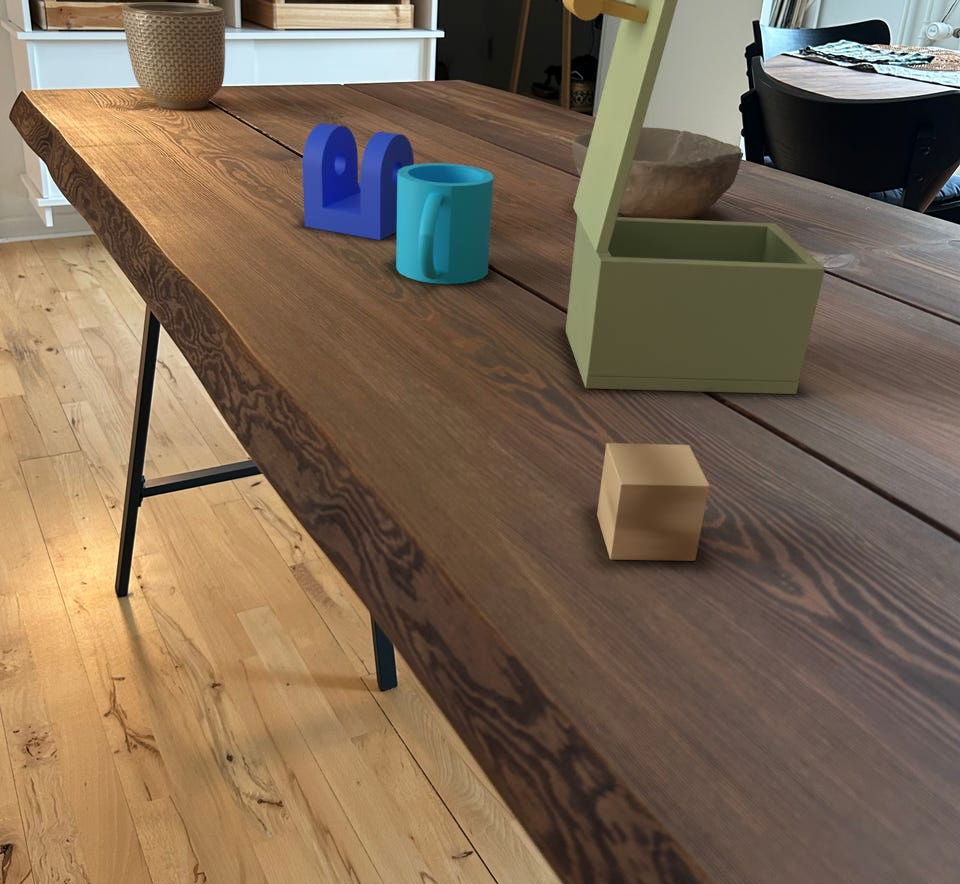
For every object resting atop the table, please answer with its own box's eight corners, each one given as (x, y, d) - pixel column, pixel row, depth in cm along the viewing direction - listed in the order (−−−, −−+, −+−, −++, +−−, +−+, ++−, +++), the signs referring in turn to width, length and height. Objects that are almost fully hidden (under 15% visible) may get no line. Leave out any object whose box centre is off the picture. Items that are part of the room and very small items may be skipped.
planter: (200, 94, 159) (193, 1, 152) (249, 109, 150) (243, 11, 144) (115, 101, 151) (103, 2, 144) (161, 117, 142) (151, 13, 135)
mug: (407, 251, 95) (409, 159, 91) (495, 260, 94) (500, 168, 90) (374, 292, 85) (374, 191, 80) (472, 302, 84) (477, 201, 80)
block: (676, 516, 56) (689, 444, 54) (695, 561, 52) (710, 485, 50) (596, 515, 56) (606, 442, 53) (609, 560, 52) (620, 483, 50)
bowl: (599, 187, 121) (607, 115, 117) (747, 212, 115) (761, 136, 110) (539, 220, 107) (546, 139, 103) (704, 250, 101) (718, 165, 96)
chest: (752, 337, 80) (775, 223, 76) (796, 394, 71) (825, 268, 67) (565, 331, 79) (577, 215, 75) (585, 388, 70) (600, 259, 65)
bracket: (380, 240, 98) (380, 140, 93) (304, 226, 100) (301, 129, 95) (458, 200, 112) (461, 112, 107) (390, 189, 114) (391, 103, 110)
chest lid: (646, -30, 67) (566, -50, 66) (683, -19, 57) (590, -42, 57) (583, 210, 75) (511, 195, 74) (607, 254, 65) (524, 237, 64)
